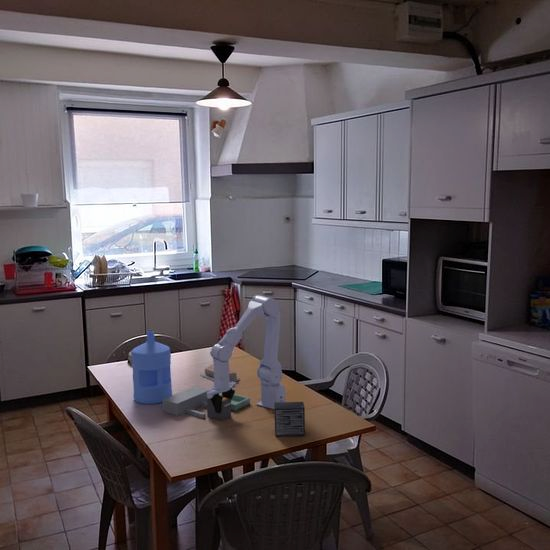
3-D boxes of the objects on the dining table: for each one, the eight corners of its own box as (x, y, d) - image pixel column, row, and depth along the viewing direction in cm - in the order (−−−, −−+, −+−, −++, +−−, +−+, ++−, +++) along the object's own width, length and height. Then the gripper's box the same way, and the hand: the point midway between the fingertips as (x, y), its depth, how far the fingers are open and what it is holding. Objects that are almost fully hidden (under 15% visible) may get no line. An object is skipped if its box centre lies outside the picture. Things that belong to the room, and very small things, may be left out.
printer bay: (227, 406, 228) (227, 394, 227) (195, 421, 214) (195, 408, 213) (195, 397, 238) (195, 386, 237) (163, 411, 224) (162, 399, 223)
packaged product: (240, 370, 259) (222, 375, 253) (240, 381, 260) (222, 386, 254) (217, 362, 273) (199, 366, 266) (217, 371, 274) (199, 376, 267)
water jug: (127, 397, 240) (123, 331, 236) (160, 388, 250) (158, 325, 246) (144, 407, 228) (141, 339, 224) (179, 398, 238) (177, 332, 234)
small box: (303, 428, 207) (303, 400, 205) (305, 436, 200) (305, 407, 199) (274, 429, 206) (274, 401, 205) (275, 437, 200) (274, 408, 198)
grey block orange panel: (232, 416, 218) (231, 398, 217) (224, 420, 214) (223, 402, 213) (215, 412, 223) (214, 393, 222) (207, 415, 219) (206, 397, 218)
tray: (250, 404, 231) (249, 398, 231) (235, 411, 224) (235, 404, 223) (226, 397, 238) (226, 391, 238) (211, 404, 231) (211, 398, 231)
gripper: (226, 369, 224) (227, 402, 226) (200, 379, 212) (201, 414, 214) (240, 372, 219) (240, 406, 221) (214, 382, 208) (215, 418, 210)
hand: (222, 410), depth 217 cm, fingers closed on grey block orange panel, 4 cm apart
